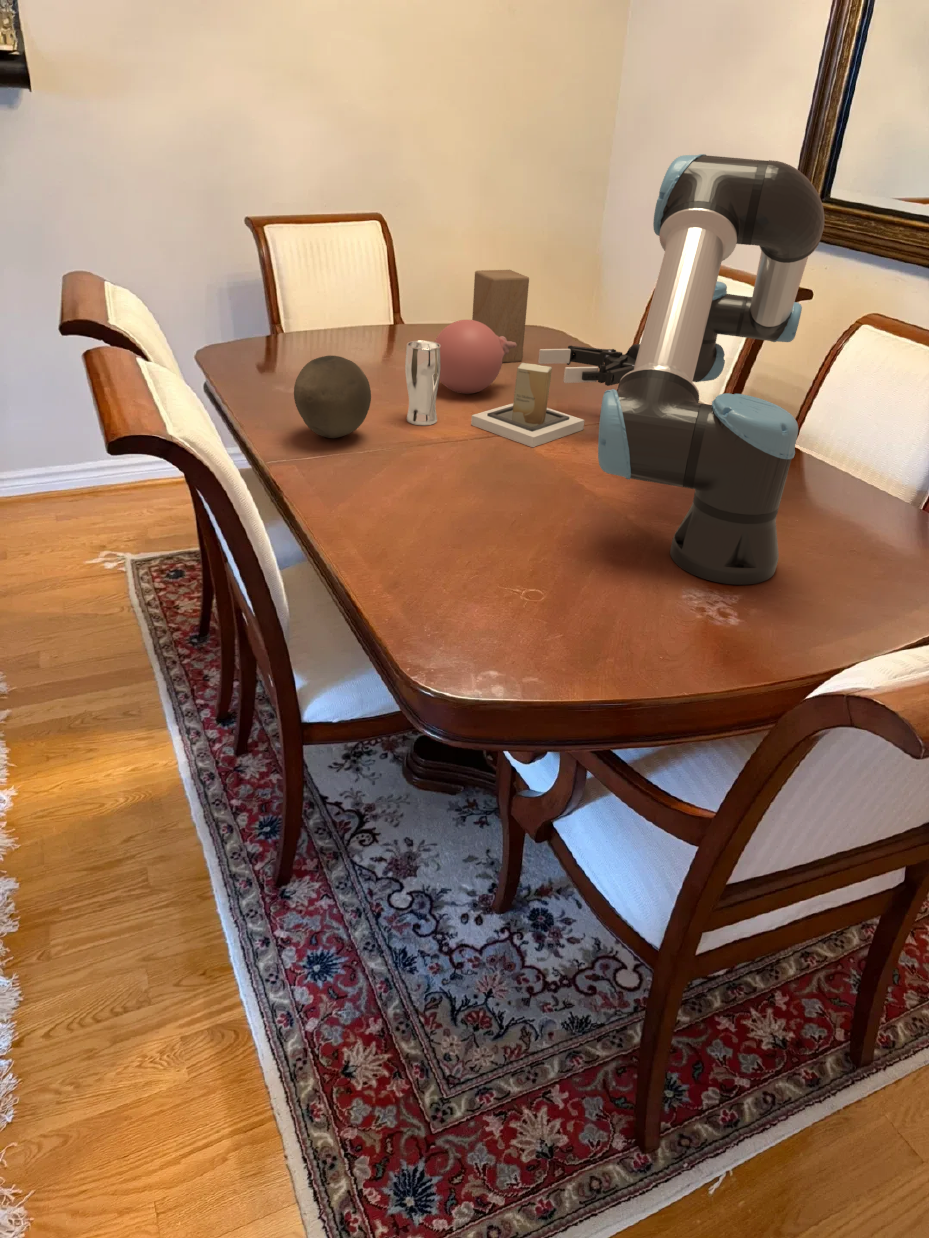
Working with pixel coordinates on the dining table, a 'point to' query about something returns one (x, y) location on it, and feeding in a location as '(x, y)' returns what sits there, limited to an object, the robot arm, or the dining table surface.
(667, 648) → the dining table surface
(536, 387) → the skincare box
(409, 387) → the beer glass
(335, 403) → the dark brown ball
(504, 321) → the wooden block
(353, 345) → the dining table surface
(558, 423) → the socket block
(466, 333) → the balloon
